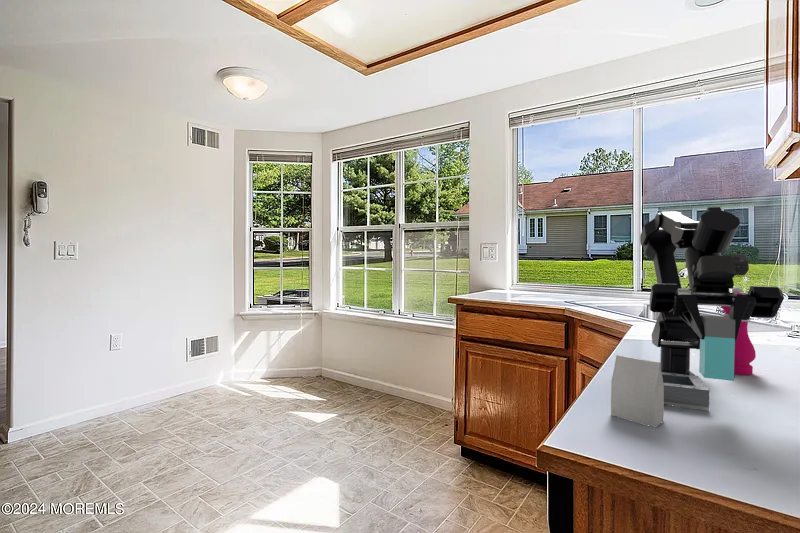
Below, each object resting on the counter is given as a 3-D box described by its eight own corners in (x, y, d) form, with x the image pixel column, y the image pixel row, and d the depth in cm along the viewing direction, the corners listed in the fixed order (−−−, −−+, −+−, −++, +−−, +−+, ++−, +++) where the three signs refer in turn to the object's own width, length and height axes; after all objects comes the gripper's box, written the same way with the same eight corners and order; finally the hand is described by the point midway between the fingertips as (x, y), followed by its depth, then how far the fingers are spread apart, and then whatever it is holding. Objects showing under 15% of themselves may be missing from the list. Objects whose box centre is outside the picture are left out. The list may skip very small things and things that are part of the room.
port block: (639, 387, 87) (639, 369, 87) (697, 394, 83) (698, 375, 83) (643, 402, 78) (643, 382, 78) (709, 410, 74) (709, 390, 74)
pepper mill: (747, 369, 102) (748, 285, 101) (761, 377, 95) (763, 287, 94) (711, 366, 104) (712, 285, 104) (722, 374, 97) (724, 287, 97)
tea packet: (654, 427, 67) (655, 364, 67) (610, 415, 72) (611, 356, 72) (663, 421, 69) (664, 361, 69) (620, 410, 75) (621, 353, 74)
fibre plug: (699, 371, 75) (700, 315, 75) (727, 374, 73) (728, 316, 73) (704, 377, 71) (705, 318, 71) (733, 380, 70) (735, 320, 69)
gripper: (652, 240, 79) (658, 306, 69) (781, 238, 71) (808, 313, 62) (647, 279, 86) (652, 344, 77) (763, 282, 79) (785, 354, 69)
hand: (718, 339), depth 71 cm, fingers closed on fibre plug, 4 cm apart
